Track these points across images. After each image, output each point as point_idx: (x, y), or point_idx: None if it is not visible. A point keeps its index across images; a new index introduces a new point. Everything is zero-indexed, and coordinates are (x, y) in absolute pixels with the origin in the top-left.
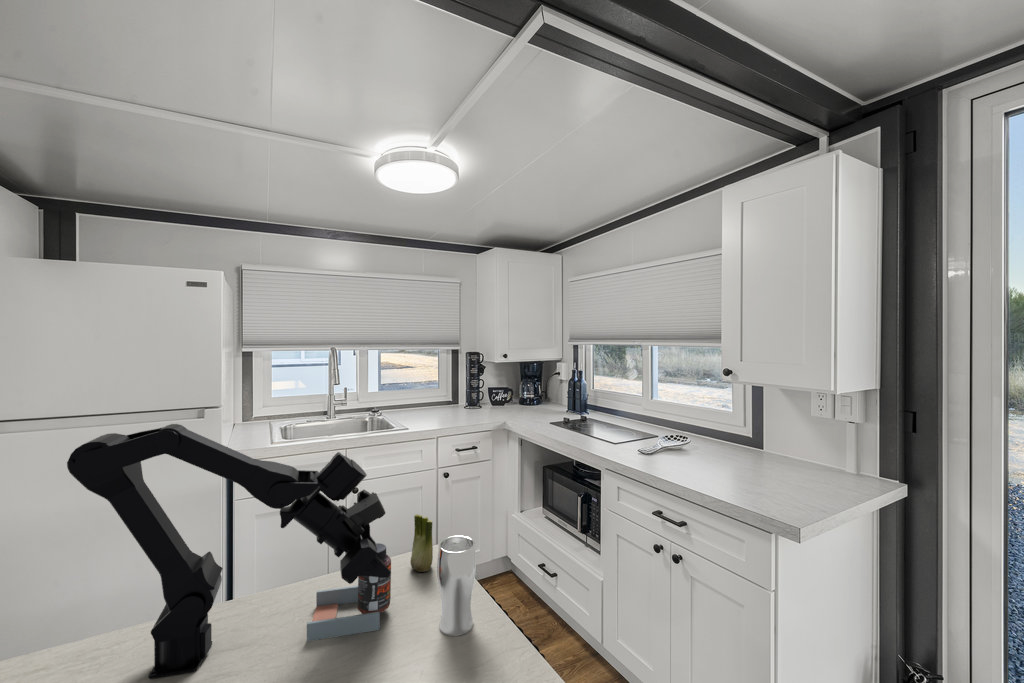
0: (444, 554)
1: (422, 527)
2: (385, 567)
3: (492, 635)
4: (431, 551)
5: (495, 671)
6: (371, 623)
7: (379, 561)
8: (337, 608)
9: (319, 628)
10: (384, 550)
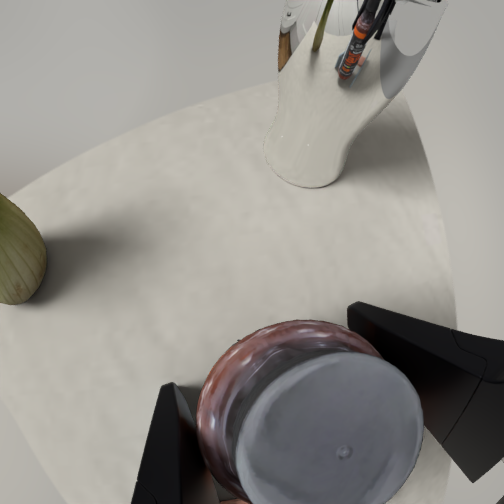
0: (442, 14)
1: None
2: (411, 318)
3: None
4: (17, 207)
5: (405, 109)
6: None
7: (473, 338)
8: (236, 500)
9: None
10: (367, 354)
